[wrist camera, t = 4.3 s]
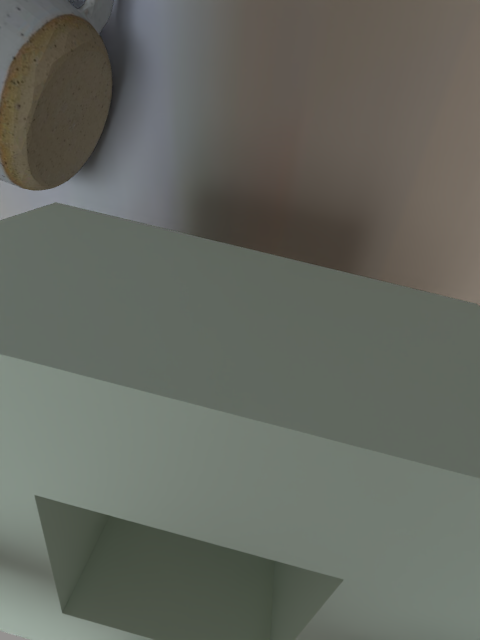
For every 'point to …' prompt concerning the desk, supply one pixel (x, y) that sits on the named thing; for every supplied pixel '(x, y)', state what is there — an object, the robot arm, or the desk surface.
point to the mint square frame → (229, 442)
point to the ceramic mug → (51, 89)
